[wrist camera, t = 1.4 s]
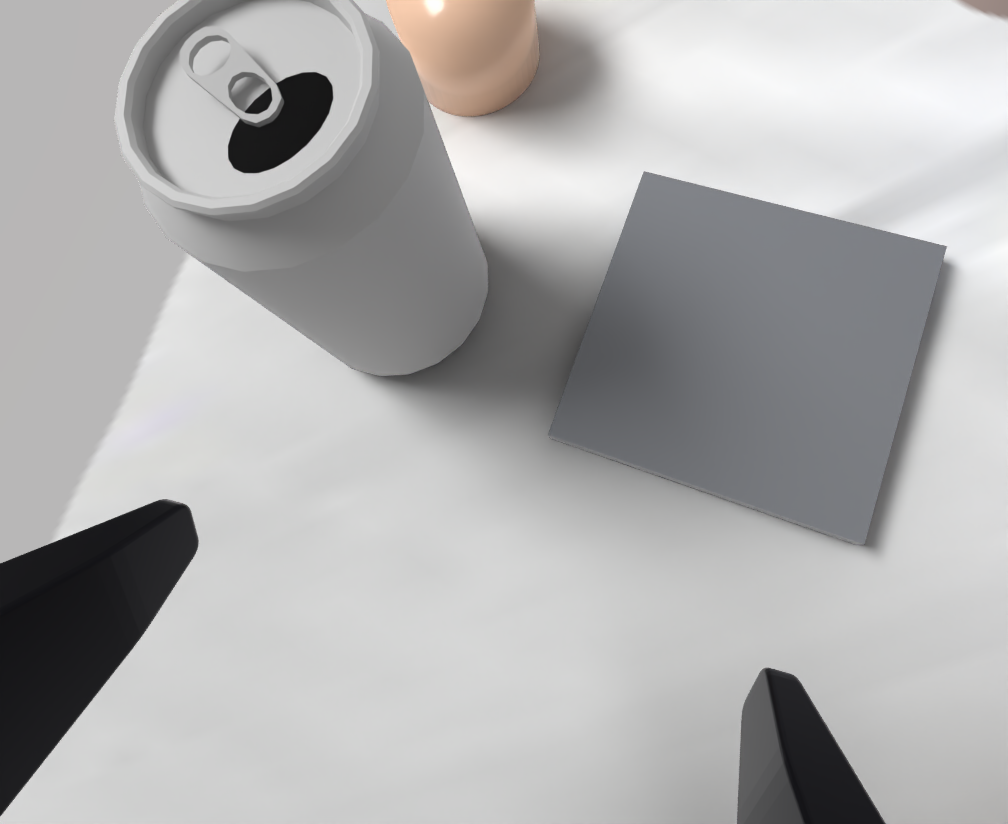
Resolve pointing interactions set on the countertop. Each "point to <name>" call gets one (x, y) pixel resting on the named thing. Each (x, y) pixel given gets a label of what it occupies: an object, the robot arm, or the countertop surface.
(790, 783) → the robot arm
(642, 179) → the coaster
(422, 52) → the beige smooth rounded shape
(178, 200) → the can
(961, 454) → the countertop surface
